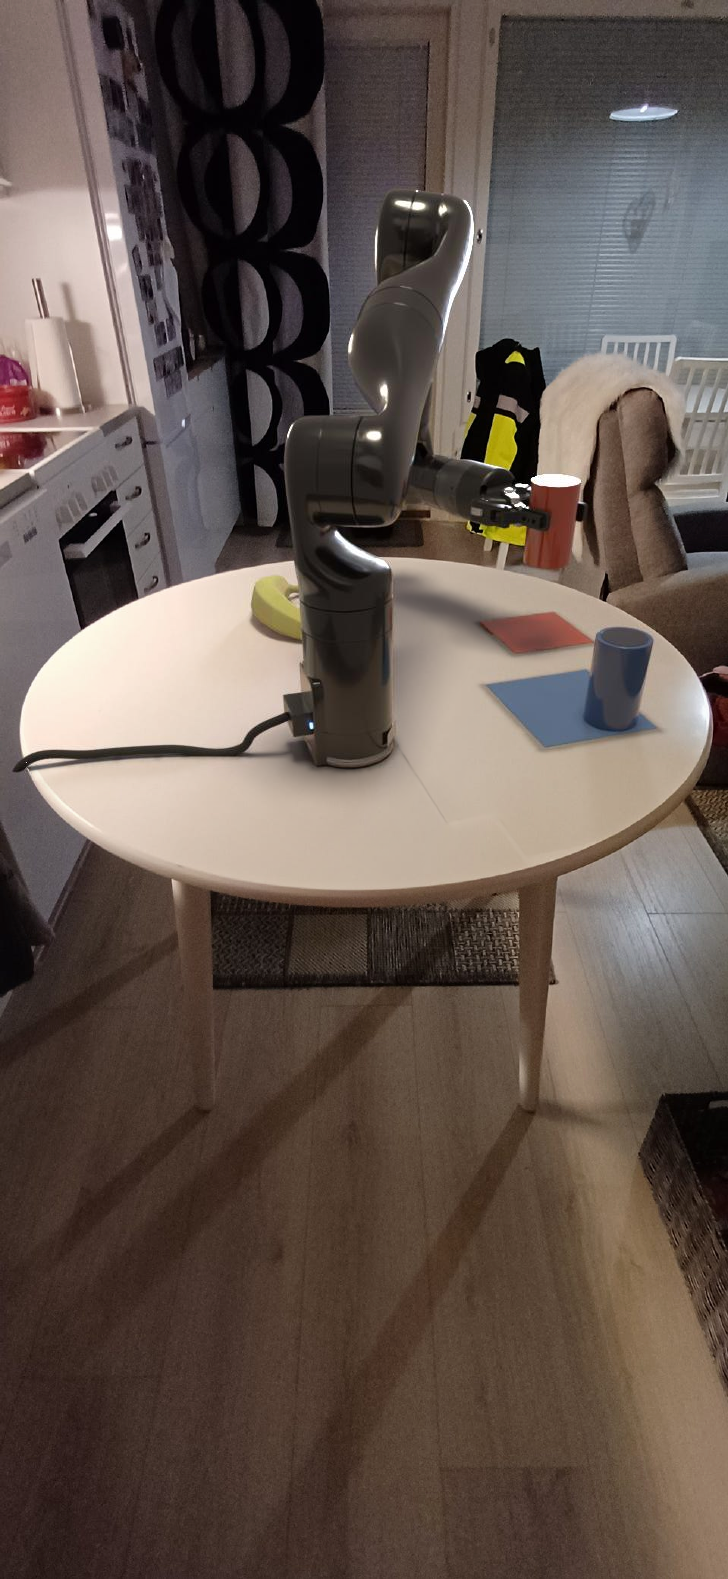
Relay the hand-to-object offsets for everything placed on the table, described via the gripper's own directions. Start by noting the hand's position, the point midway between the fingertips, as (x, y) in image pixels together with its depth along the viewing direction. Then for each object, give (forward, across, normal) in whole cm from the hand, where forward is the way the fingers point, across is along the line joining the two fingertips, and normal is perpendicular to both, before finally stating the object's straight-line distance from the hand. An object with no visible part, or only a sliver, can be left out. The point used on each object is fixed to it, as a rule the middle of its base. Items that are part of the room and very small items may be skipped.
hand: (566, 517), depth 95 cm
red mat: (-6, +3, +18) cm, 19 cm away
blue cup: (+17, -9, +17) cm, 26 cm away
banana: (-33, -20, +18) cm, 43 cm away
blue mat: (+12, -10, +18) cm, 24 cm away
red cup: (-2, 0, +6) cm, 6 cm away
